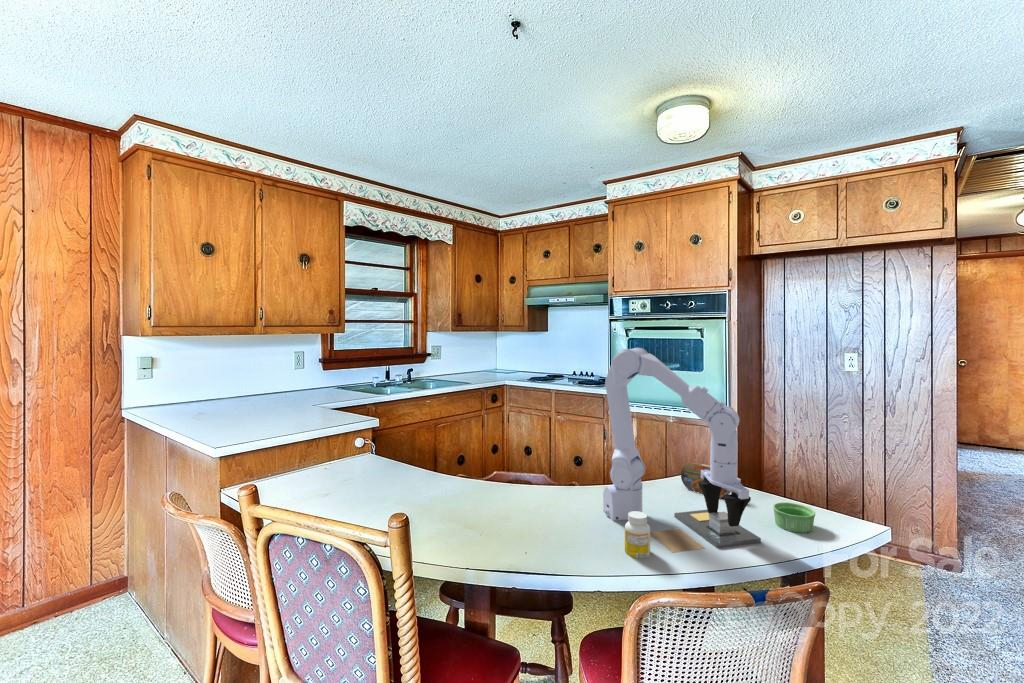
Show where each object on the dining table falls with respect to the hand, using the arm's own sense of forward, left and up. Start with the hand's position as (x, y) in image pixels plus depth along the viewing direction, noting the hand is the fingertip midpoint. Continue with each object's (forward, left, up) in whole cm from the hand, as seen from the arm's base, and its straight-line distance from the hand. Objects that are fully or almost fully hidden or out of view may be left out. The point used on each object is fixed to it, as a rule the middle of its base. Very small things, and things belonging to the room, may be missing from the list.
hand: (722, 518), depth 110 cm
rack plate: (0, +3, -5) cm, 6 cm away
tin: (+15, +28, -6) cm, 32 cm away
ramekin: (+22, +3, -6) cm, 23 cm away
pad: (-12, 0, -5) cm, 13 cm away
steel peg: (0, 0, -5) cm, 5 cm away
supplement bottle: (-23, -3, -5) cm, 24 cm away
